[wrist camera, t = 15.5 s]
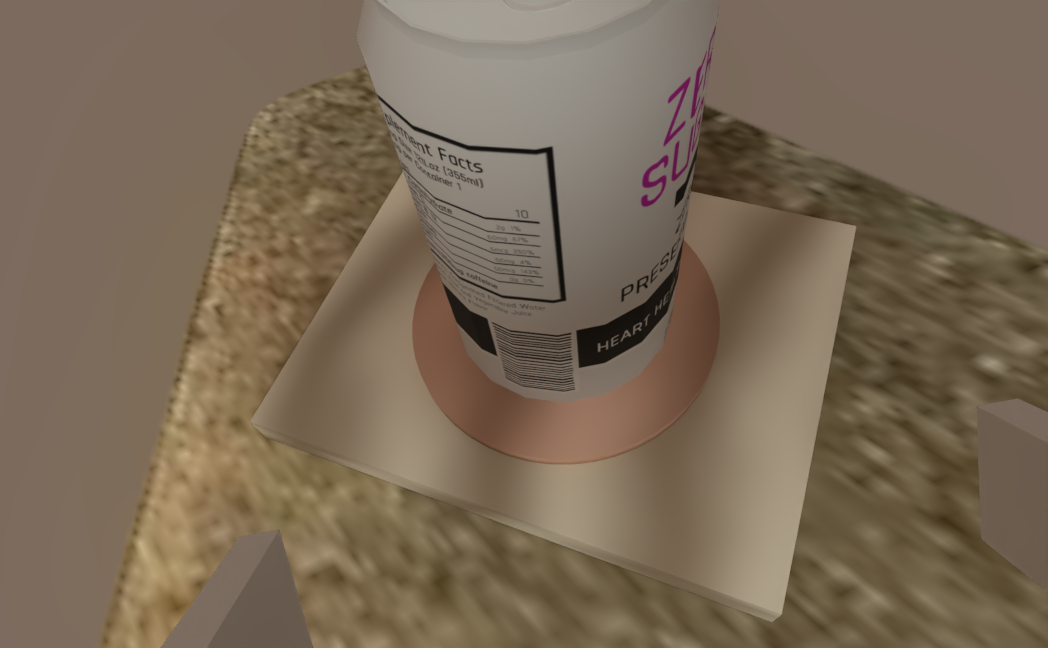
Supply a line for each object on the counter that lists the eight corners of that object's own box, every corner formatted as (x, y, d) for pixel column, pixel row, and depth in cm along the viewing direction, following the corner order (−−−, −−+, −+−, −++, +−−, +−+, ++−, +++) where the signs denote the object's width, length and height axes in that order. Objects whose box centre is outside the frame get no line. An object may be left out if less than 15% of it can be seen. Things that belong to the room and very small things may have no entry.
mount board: (845, 248, 30) (860, 216, 29) (771, 621, 23) (785, 611, 21) (431, 157, 36) (422, 125, 34) (265, 436, 28) (242, 415, 27)
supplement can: (448, 253, 30) (330, -122, 17) (640, 215, 30) (666, -188, 17) (473, 429, 25) (339, 103, 13) (697, 385, 25) (789, 15, 13)
